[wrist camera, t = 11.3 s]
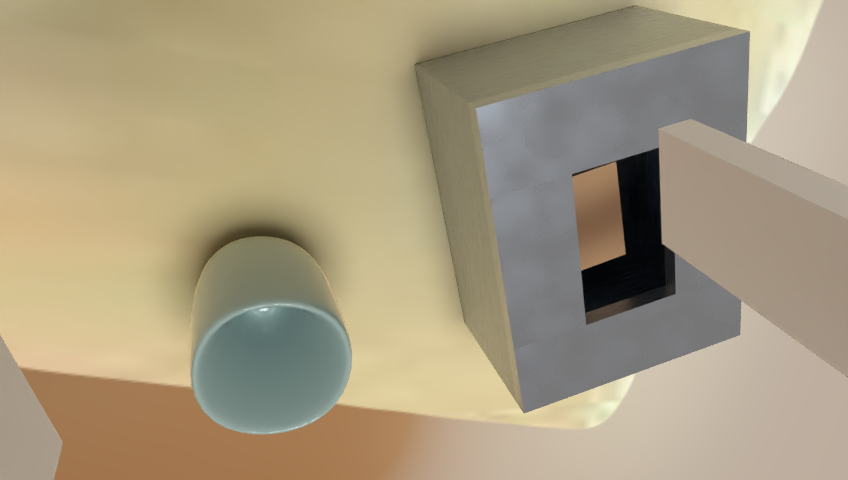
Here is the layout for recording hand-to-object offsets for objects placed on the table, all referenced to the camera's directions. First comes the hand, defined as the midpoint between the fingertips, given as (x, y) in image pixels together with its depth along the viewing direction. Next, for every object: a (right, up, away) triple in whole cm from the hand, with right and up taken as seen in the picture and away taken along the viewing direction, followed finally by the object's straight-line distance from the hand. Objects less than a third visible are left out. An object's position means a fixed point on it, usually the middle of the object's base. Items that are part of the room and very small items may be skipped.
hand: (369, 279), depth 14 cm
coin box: (+9, +5, +31) cm, 33 cm away
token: (+9, +4, +31) cm, 33 cm away
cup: (-9, -1, +29) cm, 30 cm away
